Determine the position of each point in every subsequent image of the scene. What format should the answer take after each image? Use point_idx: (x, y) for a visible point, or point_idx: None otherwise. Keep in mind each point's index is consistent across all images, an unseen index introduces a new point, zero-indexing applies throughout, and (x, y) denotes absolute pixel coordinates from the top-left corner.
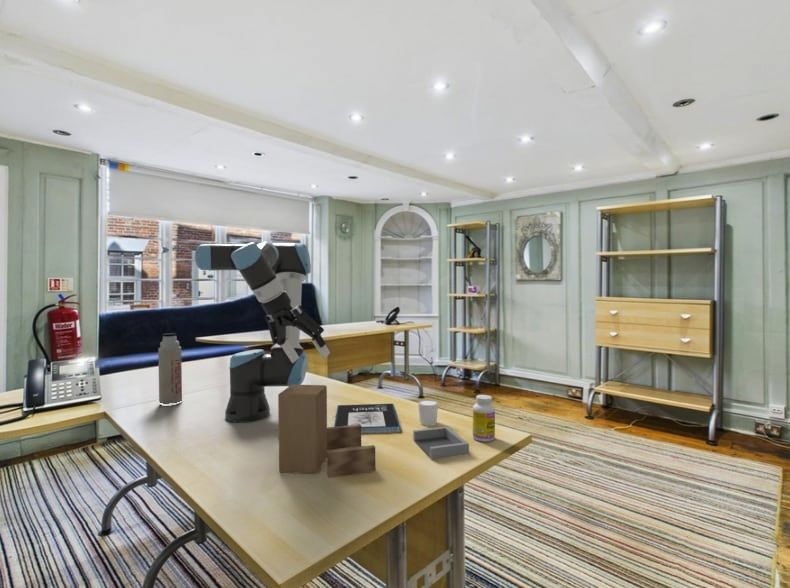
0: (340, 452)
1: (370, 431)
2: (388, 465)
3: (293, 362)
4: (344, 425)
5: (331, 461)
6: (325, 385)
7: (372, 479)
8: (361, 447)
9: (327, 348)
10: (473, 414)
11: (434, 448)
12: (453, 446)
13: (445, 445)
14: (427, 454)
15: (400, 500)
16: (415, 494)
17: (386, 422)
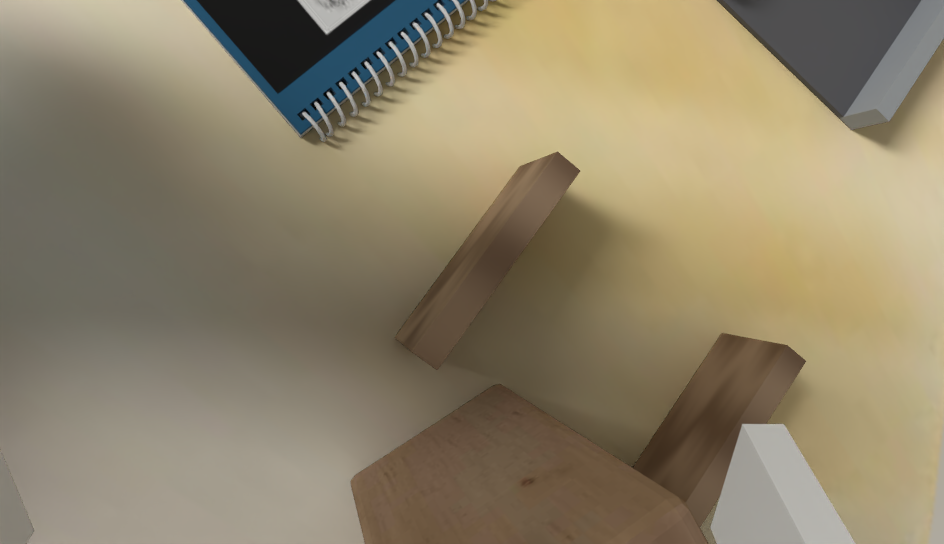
0: (715, 497)
1: (475, 13)
2: (749, 275)
3: (29, 534)
4: (284, 16)
5: None
6: (686, 515)
7: None
8: (760, 401)
9: (826, 497)
10: None
11: (895, 110)
12: (939, 40)
13: (917, 55)
14: (825, 100)
15: (909, 455)
16: (925, 395)
17: None
